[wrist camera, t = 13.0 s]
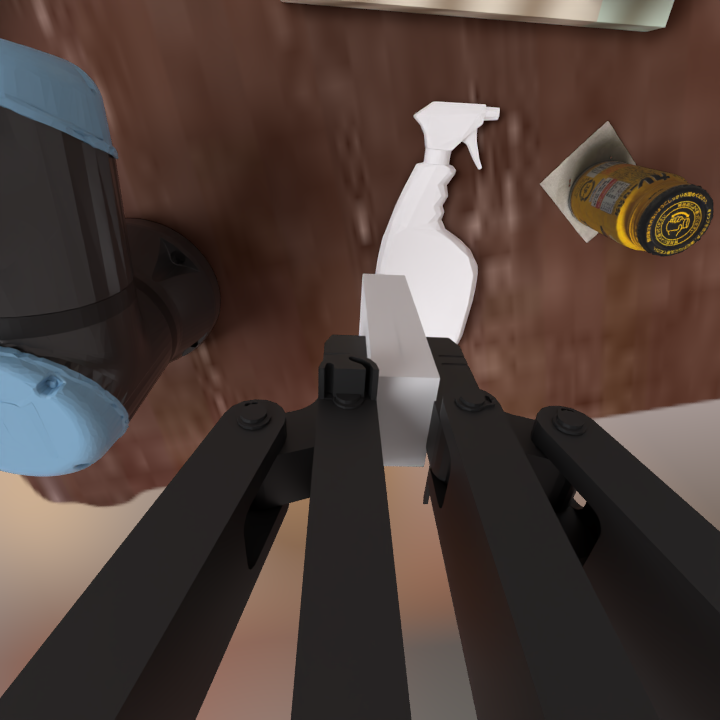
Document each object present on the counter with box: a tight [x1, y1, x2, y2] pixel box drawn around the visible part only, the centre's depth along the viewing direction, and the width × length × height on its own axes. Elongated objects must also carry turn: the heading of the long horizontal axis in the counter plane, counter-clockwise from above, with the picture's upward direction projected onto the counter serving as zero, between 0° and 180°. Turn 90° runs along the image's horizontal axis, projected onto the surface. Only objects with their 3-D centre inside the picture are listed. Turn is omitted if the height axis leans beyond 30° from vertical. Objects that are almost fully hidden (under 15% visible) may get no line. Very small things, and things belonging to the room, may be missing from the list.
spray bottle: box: [375, 102, 500, 345], centre depth 43 cm, size 3×11×25 cm
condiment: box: [540, 121, 713, 256], centre depth 36 cm, size 7×8×12 cm
